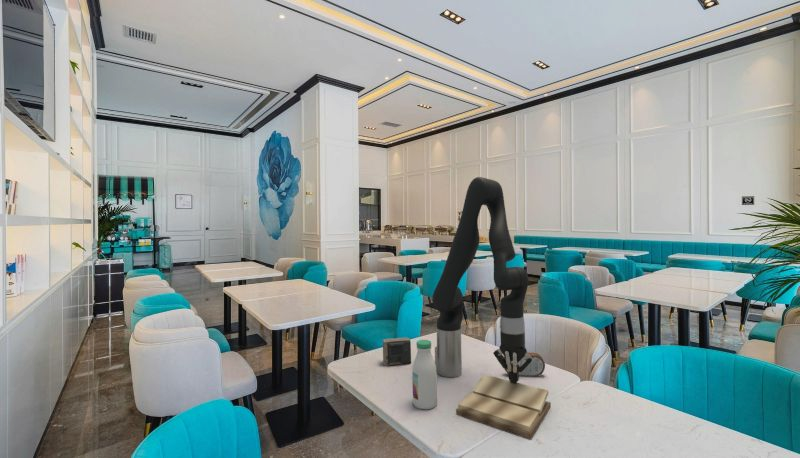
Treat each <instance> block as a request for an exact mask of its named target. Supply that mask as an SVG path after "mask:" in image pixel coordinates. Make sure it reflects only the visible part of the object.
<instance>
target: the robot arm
mask: <svg viewBox="0 0 800 458" xmlns="http://www.w3.org/2000/svg"><path fill="white" fill-rule="evenodd" d="M504 198H505V197H504V191H503V188H502V185H501V184H500V182H498V181H497V180H494V179H490V178H486V177H482V176H477V177H475V178H473V179H472V181H470V183H469V185H468V187H467V190H466V193H465V198H464V203H463V208H462V211H461V214H460V218H459V221H458V226H457V228H456V232H455V234H454V237H453V240H452V242H451V246H450V250H449V252H448V255H447V257H446V258H447V259H446V262H445V264H444V266H443V270H442V273H441V275H440V278H439V280H438V282H437V284H436V287H435V289H434V290H433V293H432V298H431V301H432V304H433V307H434V309H435V310H436V311H438V312H440V315H439V316H438V318H437V320H436V323H435V324H436V346H435V347H434V361H435V364H436V372H437V374H438V375H439V376H442V377H444V378H457V377H459V376H461V375H462V371H463V370H462V366H463V364H462V363H463V362H462V358H463V357H462V321H463V317H464V296H463V292H462V290H461V289H460V287H459V284H460V281H461V280H462V277H464V275H465V273H466V272H467V270H468V269H469V268H470V266H471V265H472V263H473V261H474V259H475V256H476V254H477V251H478V248H479V246H480V232H479V224H478V221H479V216H480V212H481V209H482V206H486V207H487V210H488V212H489V216H490V225H489V230H488V242H489V246H490V250H491V253H492V258H493V282H494V286H496V287H497V289H498V290H500V291H510V290H511V291H510V292H509V294H507V295H505V296H503V297H502V298H501V299H500V302H499V303H500V307H499V308H500V320H499V329H500V331H499V332H500V345H499V346H498V348H497V349H495V350H494V352H493V353H492V354H493V355H494V357H495V358H496V360H497V361H498V363H499V364H500V366H501V368H503V369H504V370H505V368H506V369H507V370H508V371H509V374H508V380H509V381H510V382H511V383H514V384H516V382H517V383H519V380H520V376H519V372H522V371H523V370H524V369H525V368H526V367H527V366H528V365H529V364H530V363H531V362H532V360H533V359H534V357H533V356H530V355H529V354H527V352H528V350H527V348H526V325H525V317H524V314H525V313H524V302H525V299H526V295H527V290H528V286H529V275H528V272H527V270H526V269H525V268H524V267H522V266H511V267H507V262H510V261H513V260H514V259H515V258H516V252H515V251H516V250H515V247H514V245H513V241H512V237H511V235H510V230H509V227H508V220H507V213H506V206H505V199H504ZM524 356H525V359H524V360H525V361H526V362H525V363H524V364H523V365H522V366H519V364H520V360H521V359H522V358H523V357H524ZM504 357H505V358H506V359H505V358H504Z"/></svg>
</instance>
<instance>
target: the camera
mask: <svg viewBox="0 0 800 458" xmlns="http://www.w3.org/2000/svg"><path fill="white" fill-rule="evenodd" d="M411 343H412V342H411V339H410V337H397V338H396V337H395V338H385V339H383V340H382V358H383V359H382V360H383V361H382V362H383V365H384V366H386V365H387V366H396V365H395V364H398V365H405V363H407V364H411V363H412V347H411V345H412V344H411Z"/></svg>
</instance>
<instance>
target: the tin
mask: <svg viewBox="0 0 800 458" xmlns="http://www.w3.org/2000/svg"><path fill="white" fill-rule="evenodd" d="M527 354H529V355H530V356H533V357H534V359H533V360H532V362H531V363H530V364H529V365H528V366H527V367H526V368H525V369H524V370H523V371H522V372H519V377H528V378H529V377H533V378H535V377H539V376H540V375H542V374H543V373H544V372H545V370H546V369H545V368H546V364H545V361H544V359H543V357H542V356H541V355H540V354H539V353H537V352H528V351H527ZM504 358H505V357H504ZM505 359H506V358H505ZM524 359H525V356H524V357H523V358H522V359H521V360H520V364H519V366H522V365H523V364H524V363H525V362H526V361H525V360H524ZM504 371H505V373H507V375H509V371H508V370H507V369H506V368H505V369H504Z"/></svg>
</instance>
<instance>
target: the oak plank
mask: <svg viewBox="0 0 800 458" xmlns="http://www.w3.org/2000/svg"><path fill="white" fill-rule="evenodd" d="M472 393H475V394H478V395H481V396H485V397H488V398H492V399H495V400H499V401H502V402H506V403H509V404H512V405H516V406H519V407H523V408H526V409H530V410H533V411H537V412H539V414H541V412H542V409H543V407H544V404H545V402H546V401H547V399H548V396H549V390H548V389H544V388H540V387H535V386H532V385H529V384H524V383H521V382H516V384H514V383H511V382H510V381H509V379H505V378H500V377H498V376H497V377H496V376H493V375H488V374H485V373H484V374H482V376H481V377H480V378H479V380H478V382H477V383H476V385H475V387H474V388H473V390H472Z"/></svg>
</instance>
